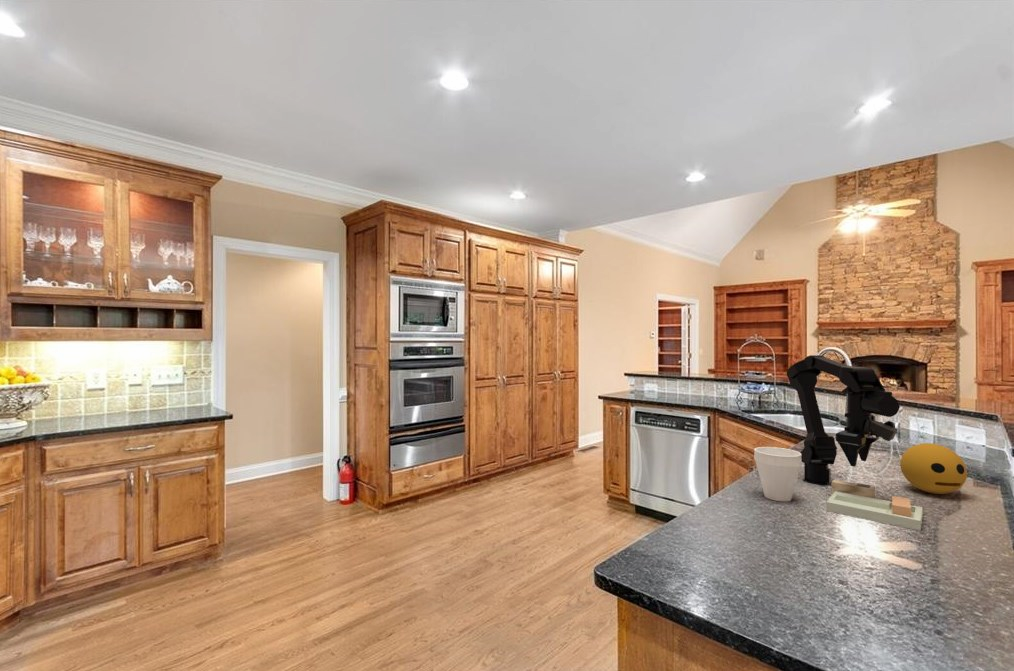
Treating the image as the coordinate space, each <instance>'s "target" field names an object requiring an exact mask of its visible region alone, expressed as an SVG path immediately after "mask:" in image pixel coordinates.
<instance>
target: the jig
mask: <svg viewBox="0 0 1014 671" xmlns="http://www.w3.org/2000/svg"><path fill="white" fill-rule="evenodd" d="M923 509H924V508H923V507H922V506H918V505H911V517H906V516H901V515H896V514H892V500H891V501H890V500H886V499H885V500H884V499H880V498H879V499H878V498H875V499H874V498H869V497H864V496H858V495H853V494H847V493H842V492H837V491H835V492H834V493H833V494H832V493H831V495H830V497H829V498H828V500H827V501H826V512H830V513H835V514H840V515H844V516H848V517H849V516H850V517H854V518H858V519H863V520H867V521H873V522H878V523H881V524H888V525H891V526H892V525H893V526H896V527H900V528H905V529H911V530H915V531H919V532H920V531H922V523H923V518H924V516H923Z"/></svg>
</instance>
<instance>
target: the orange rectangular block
mask: <svg viewBox="0 0 1014 671" xmlns="http://www.w3.org/2000/svg"><path fill="white" fill-rule="evenodd" d="M891 502H892V514H896V515H901V516H906V517H911V500H910V498H906V497H900V496H895V495H891Z"/></svg>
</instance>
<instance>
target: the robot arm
mask: <svg viewBox="0 0 1014 671" xmlns="http://www.w3.org/2000/svg"><path fill="white" fill-rule="evenodd" d="M822 373H826V374H828V375H831V376H833V377H835V378H838V380H839V382H840V383H842V384H843V385H845V386H846V387H845V388H844V389H842V390H841V393H842V394H846V400H847V401H846V412H845V413H844V417H845V418H846V426H845V427H844V430H840V431H838V432H837V433H836V434H835V438H834V436H832V435H829V434H828V433H827V432H826V431H825V428H824V427H825V426H824V423H823V420H822V415H821V412H820V408H819V403H818V399H817V395H816V391H815V389H816V385H817V383H818V376H819V375H821V374H822ZM786 377H787V379H788V382H789V385H790V386H791V387H792V388H793V389H794V390H795V391H796V392H797V396H798V399H799V400H798V401H799V404H800V408H801V414H802V417H803V421H804V426H805V430H806V435H805V438H804V440H803V449H802V450H801V451H800V453H801V455H802V456H801V460H802V464H804V467H803V469H804V470H803V471H804V474H803V476H804V478H803V479H802V482H805V483H812V484H816V485H817V484H818V485H823V486H828V484H830V483H831V482H832V480H831V479H832V477H831V475H832V473H831V471H832V469H831V468H829V465H834V464H835V460H836V458H837V455H838V447H837V444H838V445H839V446H840V448H841V450H842V452H843V454H844V456H845V458H846V460H847V462H848V464H849V466H850V467H856V466H857V463H858V457H859V458H860V461H862V462H867V459H868V456H869V453H870V450H871V447H872V445H873V443H875V442H877V441H878V440H879V439H880V438H882V439H883V441H888V442H891V441H893V440H894V438H895V436H896V434H898V431H899V429H898V428H897V427H896V423H895V422H894V421H891V420H887V421H884V423H883V421H879V420H876V416H875V415H878V416H884V417H887V418H892V417H893V416H894V417H895V416H896V415H897V414H898V412H899V411H900V408H901V407H900V406H901V405H900V404H899V400H898V399H897V398H896V397H894V396H893V392H892V391H890V390H889V391H886V389H885V386H884V385H883V384H882V382H881V380H880V379H879V377H878V375H877V373H876V371H875V369H873V368H872V367H864V366H855V365H853V366H852V365H848V364H845V363H842V362H839V361H836V360H833V359H830V358H828V357H826V356H824V355H821V354H820V355H813V354H812V355H807V356H806V357H805V358H803V359H802V360H800V361H797V362H795V363H793V364H792V365H790V366H789V368H788V369H787V370H786ZM836 442H837V444H836Z"/></svg>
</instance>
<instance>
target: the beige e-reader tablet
mask: <svg viewBox="0 0 1014 671" xmlns="http://www.w3.org/2000/svg"><path fill="white" fill-rule="evenodd" d="M830 484H831V495H832V494H833V493H834V492H835V491H837V492H842V493H847V494H853V495H858V496H864V497H869V498H874V499H876V486H873V485H869V484H864V483H855V482H850V481H843V480H838V479H832V480H831V481H830Z"/></svg>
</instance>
